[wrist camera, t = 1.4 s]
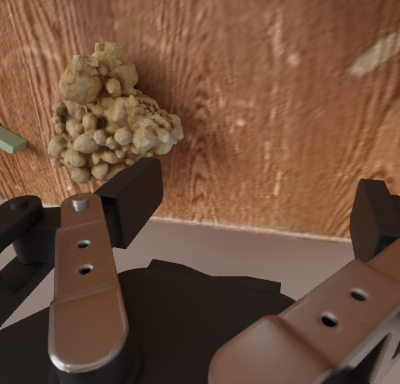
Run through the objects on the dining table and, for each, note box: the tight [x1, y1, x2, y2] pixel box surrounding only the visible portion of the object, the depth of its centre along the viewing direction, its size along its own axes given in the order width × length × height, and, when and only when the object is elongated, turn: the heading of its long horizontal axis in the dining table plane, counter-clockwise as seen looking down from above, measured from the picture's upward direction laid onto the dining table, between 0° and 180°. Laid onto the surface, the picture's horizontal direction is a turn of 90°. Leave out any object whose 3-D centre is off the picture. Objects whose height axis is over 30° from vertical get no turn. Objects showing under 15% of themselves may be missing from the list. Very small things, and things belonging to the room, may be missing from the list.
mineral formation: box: [48, 41, 184, 184], centre depth 34 cm, size 8×13×15 cm
